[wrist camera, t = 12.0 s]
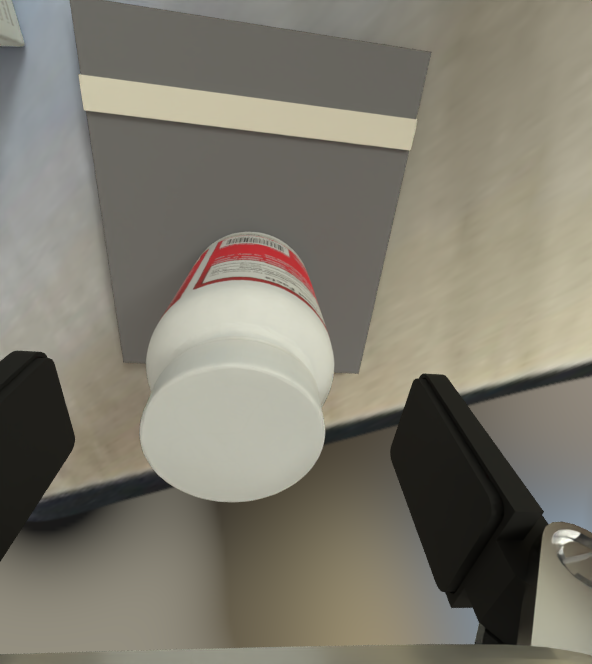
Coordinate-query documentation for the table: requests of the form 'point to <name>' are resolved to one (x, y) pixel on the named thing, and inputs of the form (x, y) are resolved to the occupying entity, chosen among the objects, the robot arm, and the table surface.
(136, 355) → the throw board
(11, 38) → the small box
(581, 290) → the table surface
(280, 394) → the pill bottle
